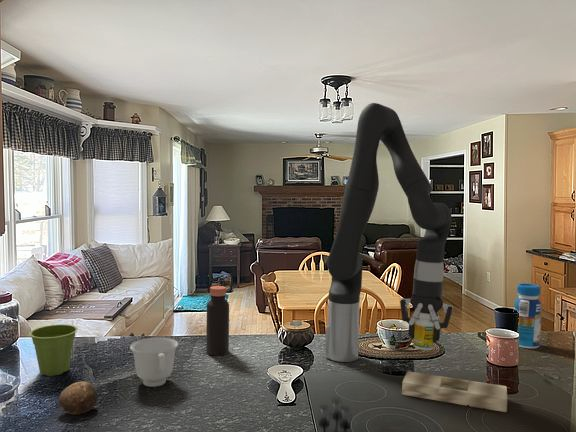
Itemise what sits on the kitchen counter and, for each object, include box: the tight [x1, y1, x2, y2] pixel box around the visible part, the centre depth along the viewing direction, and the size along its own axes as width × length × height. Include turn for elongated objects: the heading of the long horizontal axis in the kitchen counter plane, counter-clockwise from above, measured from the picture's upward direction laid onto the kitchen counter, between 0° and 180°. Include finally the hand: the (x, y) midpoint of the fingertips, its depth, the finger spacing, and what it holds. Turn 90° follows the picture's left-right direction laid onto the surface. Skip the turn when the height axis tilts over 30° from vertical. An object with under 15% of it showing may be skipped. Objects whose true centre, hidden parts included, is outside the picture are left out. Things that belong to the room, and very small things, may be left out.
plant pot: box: [28, 324, 78, 377], centre depth 138 cm, size 12×12×11 cm
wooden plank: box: [401, 370, 508, 413], centre depth 127 cm, size 24×8×3 cm, turn 68°
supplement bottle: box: [413, 312, 435, 351], centre depth 137 cm, size 5×5×10 cm
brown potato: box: [58, 381, 99, 415], centre depth 116 cm, size 8×8×6 cm
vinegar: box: [205, 285, 230, 357], centre depth 155 cm, size 7×7×20 cm
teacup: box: [129, 337, 179, 388], centre depth 131 cm, size 12×15×10 cm
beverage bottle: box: [513, 282, 543, 350], centre depth 168 cm, size 8×8×20 cm
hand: (423, 339), depth 137 cm, fingers closed on supplement bottle, 5 cm apart
